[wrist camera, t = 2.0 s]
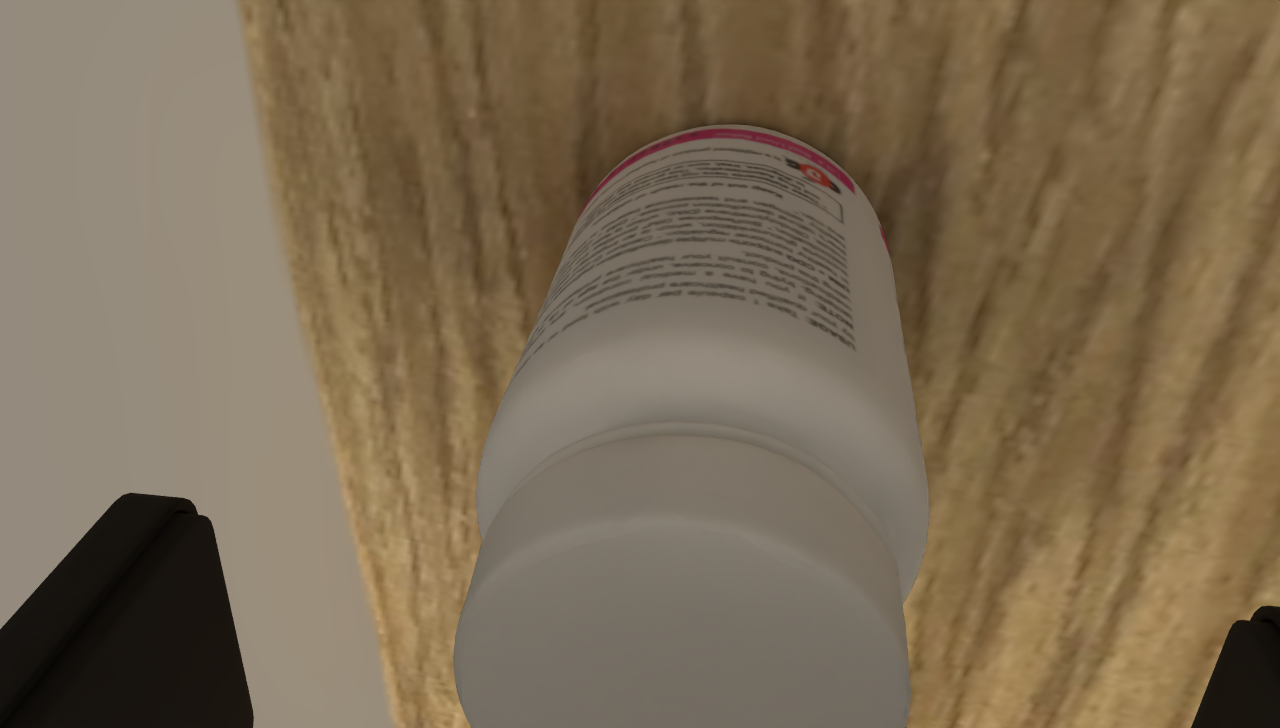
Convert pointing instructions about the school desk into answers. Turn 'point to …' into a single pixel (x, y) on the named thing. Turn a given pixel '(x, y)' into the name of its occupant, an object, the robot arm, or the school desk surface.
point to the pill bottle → (704, 460)
